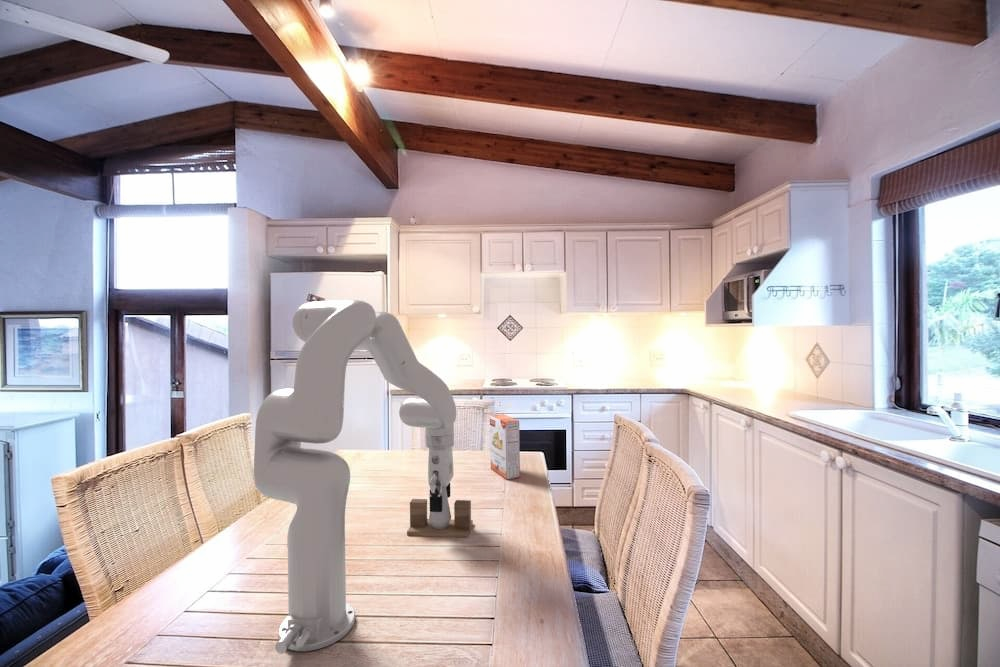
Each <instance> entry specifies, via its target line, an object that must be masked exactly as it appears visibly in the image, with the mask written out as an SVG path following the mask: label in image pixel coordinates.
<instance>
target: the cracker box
mask: <svg viewBox="0 0 1000 667" xmlns="http://www.w3.org/2000/svg"><path fill="white" fill-rule="evenodd" d="M489 435H490V436H489V439H490V440H489V441H490V444H489V446H490V469H491V470H492V471H494V472H495V473H497V474H498V475H499V476H500V477H502V478H504V479H505V480H507V479H508V480H512V479H513V480H514V479H517V478H520V477H521V459H520V458H521V456H520V455H521V454H520V449H521V448H520V446H521V445H520V420H519V419H516V418H514V417H510V416H509V415H506V414H504V413H499V414H490V415H489ZM508 480H507V481H508Z"/></svg>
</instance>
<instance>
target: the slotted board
mask: <svg viewBox="0 0 1000 667" xmlns="http://www.w3.org/2000/svg"><path fill="white" fill-rule="evenodd" d="M453 504H454V506H453V507H454V508H453V514H454V518H453V519H451V520H450V522H449V524H448V527H447V528H444V529H442V530H440V529H434V528H433V526H432V524H431V522H430V519H429V518H428V499H426V498H412V499H411V501H409V528H408V529H407V530H406V535H407V536H414V535H417V536H419V537H440V536H446V537H447V538H469V535H470V532H471V529H472V527H473V524H474V522H473V519H472V501H471V500H466V499H465V500H464V499H463V500H462V499H456V500H455V501H454V503H453ZM417 536H416V537H417ZM446 537H445V538H446Z"/></svg>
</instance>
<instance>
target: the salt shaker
mask: <svg viewBox="0 0 1000 667" xmlns="http://www.w3.org/2000/svg"><path fill="white" fill-rule="evenodd" d="M436 484H440V483H436ZM446 487H447V486H446ZM446 487H444V486H442V491H441V496H442V512H430V511H429V516H428V519H430V522H431V524H432V526H433V528H434V529H440V530H442V529H444V528H447V527H448V524H449V522H450V520H452V513H451V508H450V503H449V498H448V497H447V491H446ZM437 489H438V491H439V488H437Z"/></svg>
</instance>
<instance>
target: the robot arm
mask: <svg viewBox="0 0 1000 667" xmlns="http://www.w3.org/2000/svg"><path fill="white" fill-rule="evenodd" d="M292 328H293V331H294V333H295V335H296V336H297V337H298V338H299V339H300V341H302V342H304V344H303V346H302V347H301V349H300V351H299V354H298V356H297V360H296V364H295V371H294V372H295V373H294V382H293V388H282V389H281V388H279V389H277V390H275V391H272V392H271V393H269V395H267V396H266V397H265V399H263V401H262V403H261V405H260V406H259V408H258V411H257V415H256V420H255V427H254V428H255V432H254V452H253V453H254V455H253V479H254V484H255V487H256V488H257V490H258V492H259V493H260V494H261V495H263V496H264V497H266V498H268V499H273V500H277V501H281V502H285V503H290V504H292V505H293V504H294V505H296V511H295V513H294V515H293V517H292V520H291V521H290V523H289V527H288V528H287V529H288V530H287V586H288V588H287V590H288V594H287V596H288V599H287V600H288V615H287V616H286V618H285V619H284V620H282V622H281V624H280V625H279V629H278V639H279V640H277V642H275V643H276V644H275V646H274V648H275V651H276V653H278V654H281V655H282V654H284V653H285V652H286V651H287V650H291V651H295V652H311V651H315V650H320V649H323V648H326V647H329V646H330V645H332V644H335V643H336V642H338V641H339V640H341V639H342V638H344V637H345V636H346V635H347V634H349V633H348V632H350V631H351V629H352V628H353V626H354V624H355V621H356V614H355V613H356V612H355V609H354V607H353V606H352V605H351V604H350V603H348V602H347V600H346V599H347V598H346V597H347V596H346V595H347V594H346V592H347V591H346V589H347V586H346V585H347V584H346V583H347V582H346V581H347V580H346V507H347V506H346V505H347V499H348V492H349V490H350V489H349V488H350V482H351V469H350V467H349V464H348V462H347V461H346V460H345V458H343V457H342V456H341V455H338V454H337V453H334V452H331V451H328V450H320V449H313V448H303V447H301V446H302V443H306V444H316V445H317V444H327V443H331V442H332V441H334V440H336V439H337V438H338V437H339V436H340V434H341V432H342V429H343V424H344V413H345V412H344V411H345V386H346V385H345V383H346V372H347V366H348V362H349V359H350V358H351V356H352V354H353V353H354V351H368V352H369V353H370V354H371V357H373V360H374V361H375V363H376V365H377V367H378V369H379V371H380V373H381V374H382V376H383V378H384V379H385V381H386V382H387V383H389V384H390V385H393V386H394V387H395V388H398V389H401V390H403V391H406V392H409V393H411V394H414V395H415V396H411V397H408V398H406V399H405V400H404V401H403V402H402V403H401V404H400V406H399V410H398V415H399V418H400V421H401V422H402V423H403V424H404V425H407V426H408V427H414V428H415V427H416V428H425V448H427V449H428V457H427V458H428V460H427V462H428V464H427V466H428V468H427V480H428V482H427V483H428V486H429V495H428V496H429V513H430V512H442V496H441V491H442V486H444V487H446V486H447V487H446V491H447V497H448V499H449V498H451V481H452V480H453V478H454V472H455V471H454V457H453V447H454V446H455V422H456V419H457V406H456V403H455V400H454V397H453V395H452V392H451V391H450V389H449V387H448V385H447V384H446V383H445V381H444V380H442V379H441V378H440V377H439V376H438V375H437V374H435V373H434V372H433V371H432V370H431V369H429V368H428V367H426V365H423V364H422V363H420V361H419V360H418V358H417V356H416V354H415V352H414V350H413V348H412V346H411V344H410V342H409V340H408V338H407V335H406V333H405V331H404V329H403V327H402V326H401V323H400V321H399V319H398V318H397V317H396V316H395V315H394V314H391V313H390V312H387V311H375V309H374V306H373V305H371V304H370V303H369V302H366V301H363V300H359V299H337V300H323V301H322V300H321V301H309V302H307V303H303V304H302V305H300V306H299V307H298V308H297V309H296V310H295V312H294V315H293V317H292ZM436 483H440V484H436ZM437 488H439V491H438V489H437Z"/></svg>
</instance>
